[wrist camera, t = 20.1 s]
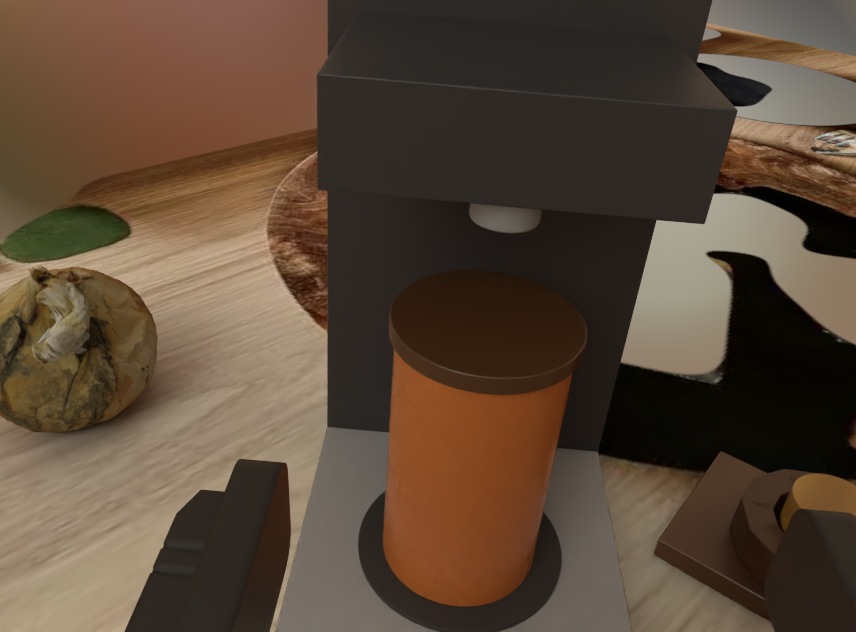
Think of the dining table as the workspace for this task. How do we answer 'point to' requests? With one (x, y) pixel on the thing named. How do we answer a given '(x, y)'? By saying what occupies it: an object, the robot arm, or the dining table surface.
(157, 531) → the dining table surface
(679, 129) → the dark brown rectangular box
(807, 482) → the button
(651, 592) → the dining table surface
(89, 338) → the onion
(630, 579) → the dining table surface
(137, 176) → the dining table surface
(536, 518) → the orange lidded canister
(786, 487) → the control block
